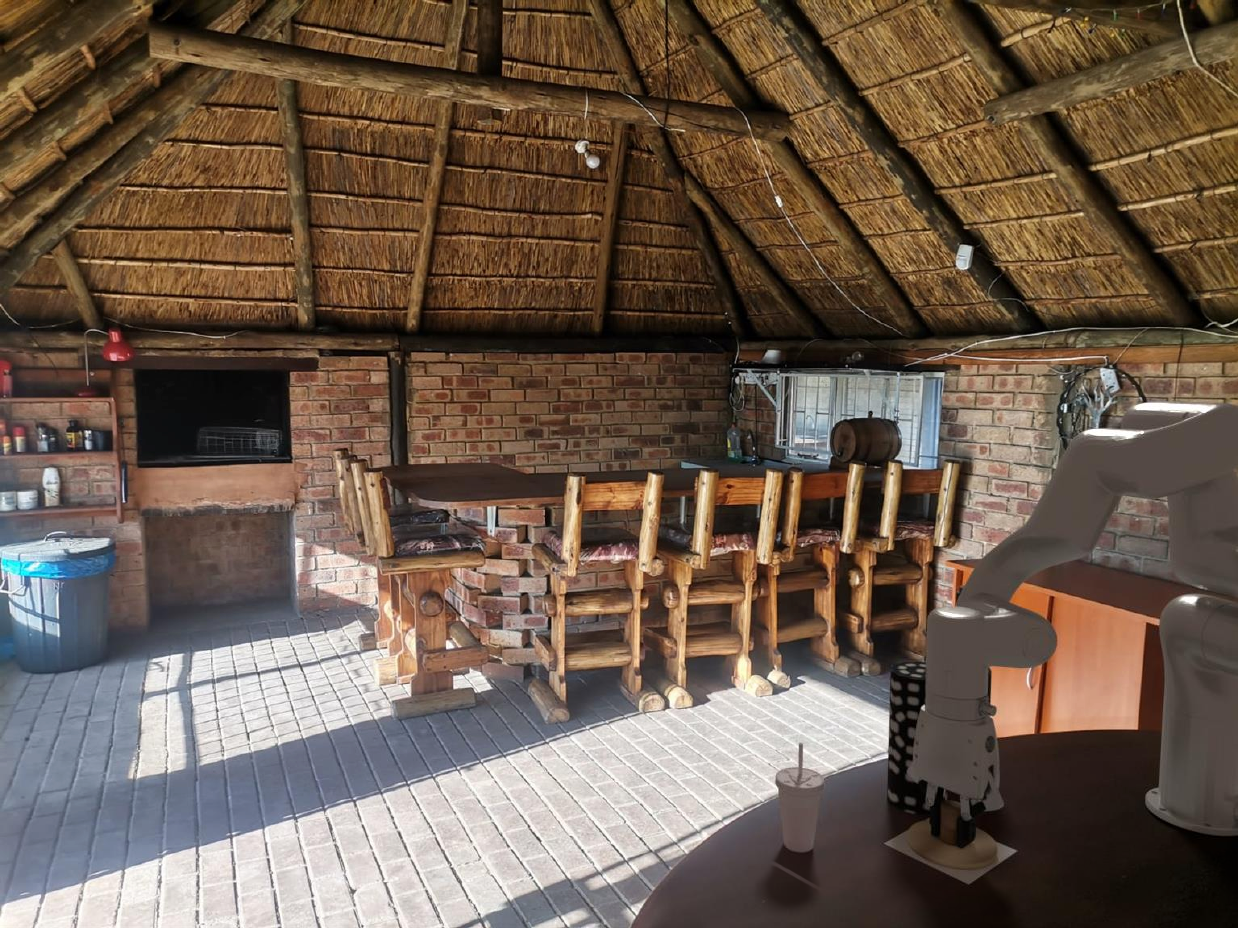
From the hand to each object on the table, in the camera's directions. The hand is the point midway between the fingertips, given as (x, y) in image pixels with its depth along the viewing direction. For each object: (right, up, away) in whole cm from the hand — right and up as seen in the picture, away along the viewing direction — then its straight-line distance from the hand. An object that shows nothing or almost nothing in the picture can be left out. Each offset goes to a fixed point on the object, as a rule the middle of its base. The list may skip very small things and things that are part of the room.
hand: (952, 836), depth 114 cm
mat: (0, -2, 0) cm, 2 cm away
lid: (0, -1, 0) cm, 1 cm away
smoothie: (-20, -2, +1) cm, 20 cm away
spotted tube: (0, -1, +13) cm, 13 cm away
